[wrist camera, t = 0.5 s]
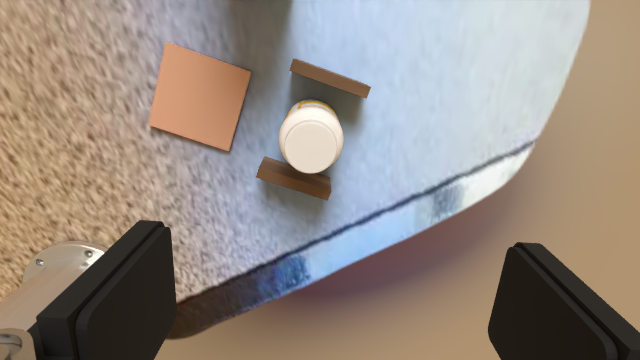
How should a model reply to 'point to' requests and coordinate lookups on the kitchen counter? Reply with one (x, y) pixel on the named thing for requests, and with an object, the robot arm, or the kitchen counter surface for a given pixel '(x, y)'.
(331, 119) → the supplement bottle
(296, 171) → the slot rack
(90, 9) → the kitchen counter surface
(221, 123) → the terracotta tile
